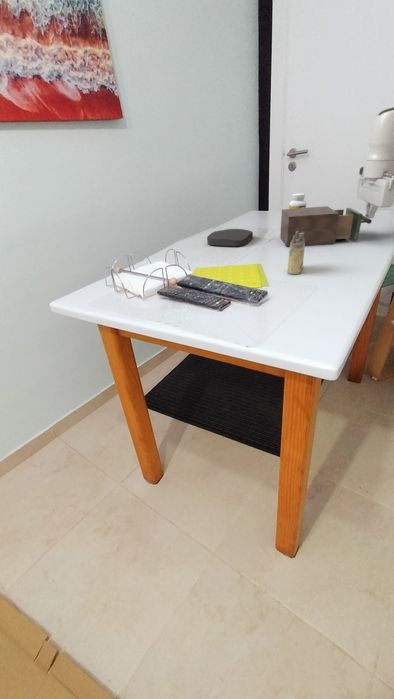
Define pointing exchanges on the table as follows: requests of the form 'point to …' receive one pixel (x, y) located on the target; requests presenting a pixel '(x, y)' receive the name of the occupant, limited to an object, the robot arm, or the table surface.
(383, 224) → the table surface
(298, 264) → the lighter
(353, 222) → the drawer
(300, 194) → the pill bottle
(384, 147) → the robot arm
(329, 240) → the cabinet
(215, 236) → the media streaming box
